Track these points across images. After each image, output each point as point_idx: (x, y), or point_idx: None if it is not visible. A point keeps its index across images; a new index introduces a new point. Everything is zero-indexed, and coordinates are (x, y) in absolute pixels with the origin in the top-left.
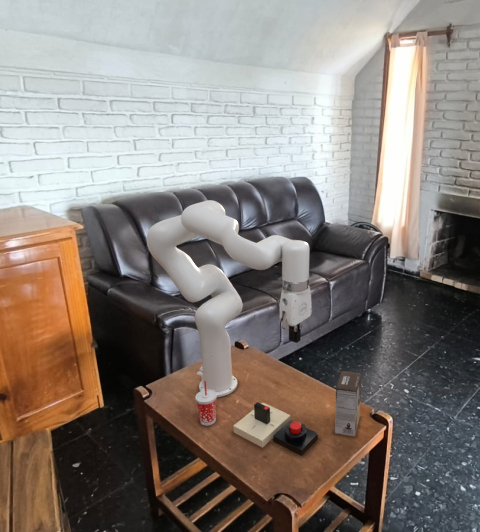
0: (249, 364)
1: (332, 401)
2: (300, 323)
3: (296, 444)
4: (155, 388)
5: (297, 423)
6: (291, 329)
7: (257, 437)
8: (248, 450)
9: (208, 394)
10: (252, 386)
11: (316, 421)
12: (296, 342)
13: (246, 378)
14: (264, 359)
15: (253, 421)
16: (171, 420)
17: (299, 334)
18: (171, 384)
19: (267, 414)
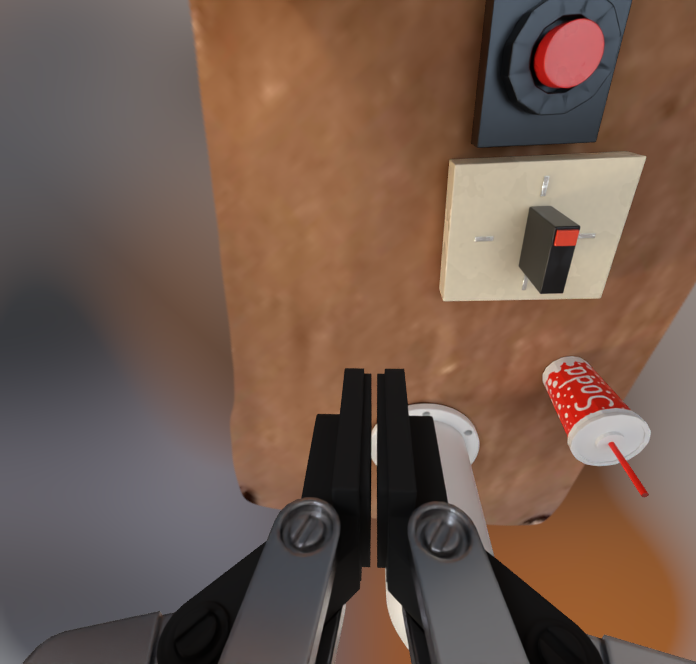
0: (289, 443)
1: (236, 90)
2: (309, 603)
3: (615, 2)
4: (509, 524)
5: (557, 56)
6: (531, 588)
7: (633, 186)
8: (654, 186)
9: (605, 440)
10: None
11: (388, 63)
12: (403, 376)
13: None
14: (239, 429)
15: None
16: None
17: (361, 432)
18: None
19: (565, 219)
